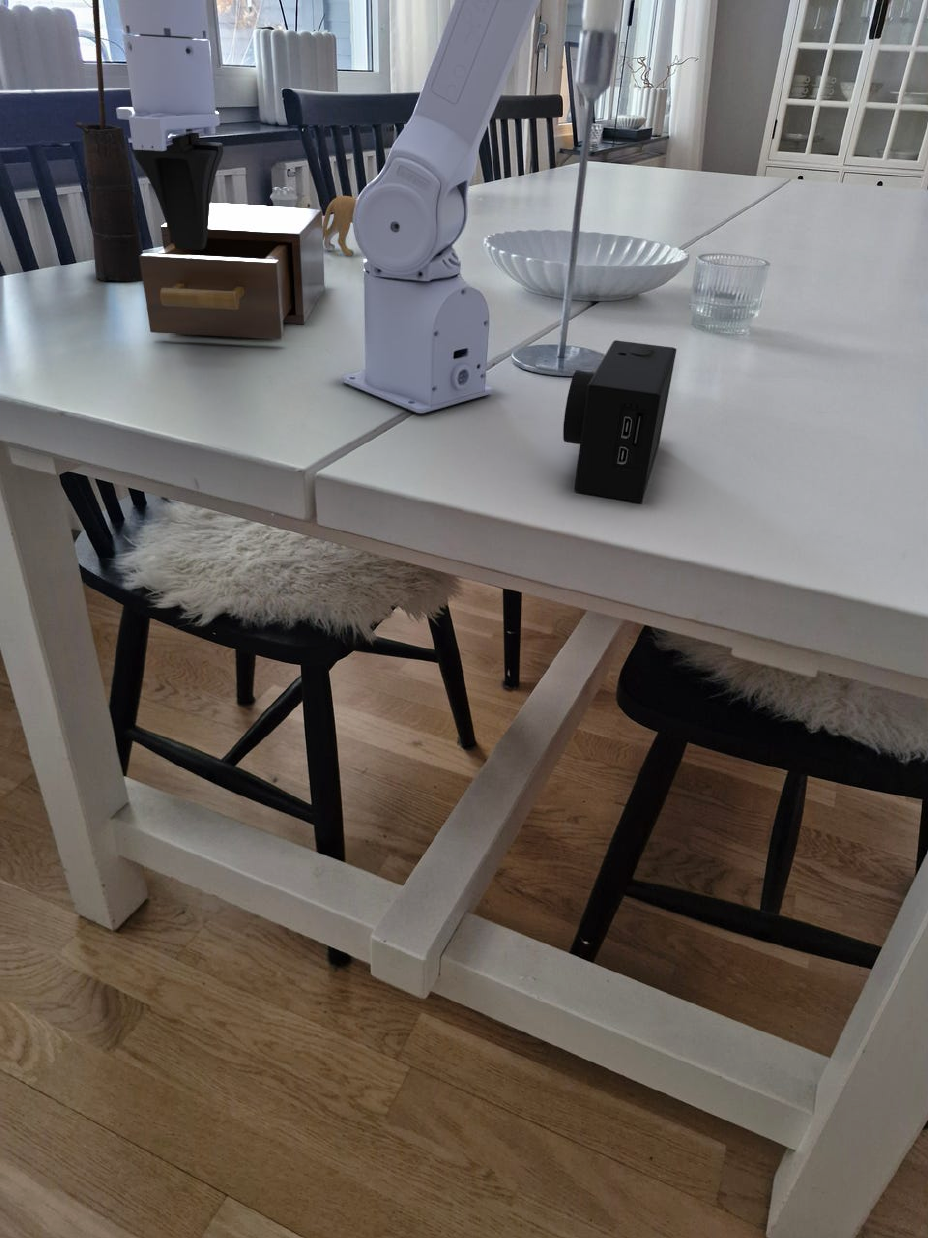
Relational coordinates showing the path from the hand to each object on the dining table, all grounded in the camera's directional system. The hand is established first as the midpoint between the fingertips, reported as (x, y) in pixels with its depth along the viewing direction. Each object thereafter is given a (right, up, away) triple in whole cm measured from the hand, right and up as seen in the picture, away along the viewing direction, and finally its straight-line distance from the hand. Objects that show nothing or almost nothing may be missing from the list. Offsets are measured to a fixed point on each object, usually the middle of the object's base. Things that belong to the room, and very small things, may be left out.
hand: (190, 247), depth 67 cm
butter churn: (-17, +8, +27) cm, 33 cm away
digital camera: (+31, -19, -9) cm, 37 cm away
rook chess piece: (-1, +16, +40) cm, 43 cm away
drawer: (0, -2, +12) cm, 12 cm away
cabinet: (0, +4, +22) cm, 22 cm away
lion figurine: (+9, +19, +46) cm, 51 cm away
